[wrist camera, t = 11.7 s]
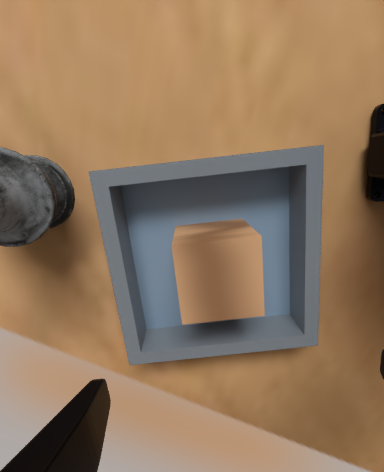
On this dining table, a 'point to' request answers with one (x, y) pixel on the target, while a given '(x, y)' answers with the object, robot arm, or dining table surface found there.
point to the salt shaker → (31, 197)
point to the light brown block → (218, 271)
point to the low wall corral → (202, 211)
